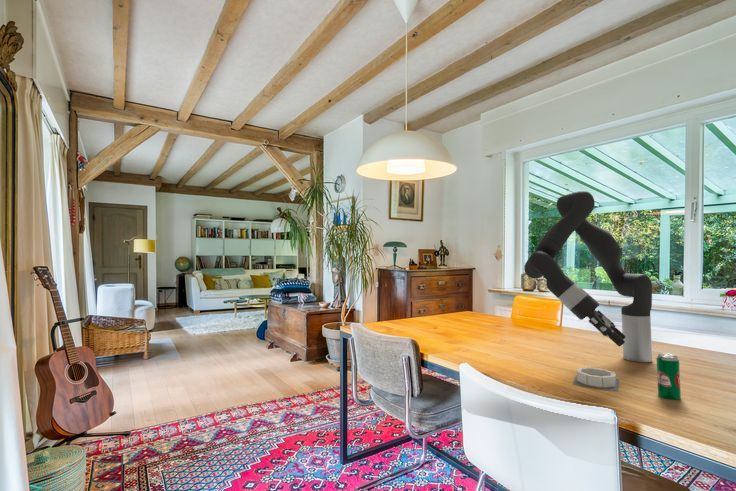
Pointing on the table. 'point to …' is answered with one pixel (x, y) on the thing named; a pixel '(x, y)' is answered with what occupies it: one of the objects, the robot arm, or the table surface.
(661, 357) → the soda can
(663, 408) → the table surface
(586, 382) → the grey faceted ashtray
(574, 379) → the mat
